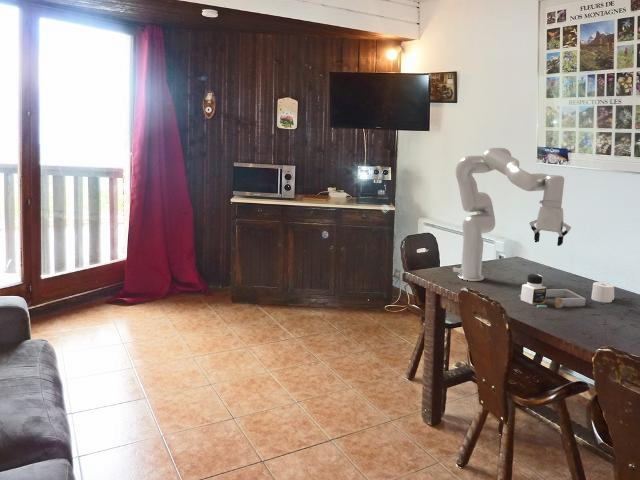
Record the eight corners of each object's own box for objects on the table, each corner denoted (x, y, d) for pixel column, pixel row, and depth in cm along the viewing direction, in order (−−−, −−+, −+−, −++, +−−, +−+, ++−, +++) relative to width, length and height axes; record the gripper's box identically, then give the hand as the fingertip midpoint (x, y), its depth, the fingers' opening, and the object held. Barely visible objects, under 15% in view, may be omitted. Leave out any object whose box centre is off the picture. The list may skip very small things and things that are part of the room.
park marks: (537, 307, 231) (537, 305, 231) (519, 296, 247) (519, 294, 246) (546, 307, 232) (546, 305, 232) (527, 296, 247) (528, 294, 247)
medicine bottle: (532, 305, 235) (535, 277, 232) (520, 300, 241) (522, 273, 239) (545, 303, 237) (548, 276, 235) (532, 298, 244) (535, 272, 241)
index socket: (561, 306, 234) (562, 298, 233) (544, 296, 247) (544, 289, 247) (584, 306, 235) (585, 298, 234) (566, 296, 249) (566, 289, 248)
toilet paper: (614, 297, 249) (616, 283, 247) (610, 303, 240) (612, 288, 238) (594, 294, 253) (596, 279, 252) (589, 300, 244) (591, 284, 243)
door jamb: (556, 308, 231) (557, 298, 231) (535, 295, 249) (536, 286, 248) (561, 307, 232) (562, 298, 231) (539, 295, 249) (540, 286, 248)
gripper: (528, 202, 240) (524, 241, 243) (570, 207, 229) (565, 248, 232) (535, 201, 245) (531, 239, 249) (576, 205, 234) (571, 245, 237)
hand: (547, 243), depth 240 cm, fingers open, 9 cm apart
